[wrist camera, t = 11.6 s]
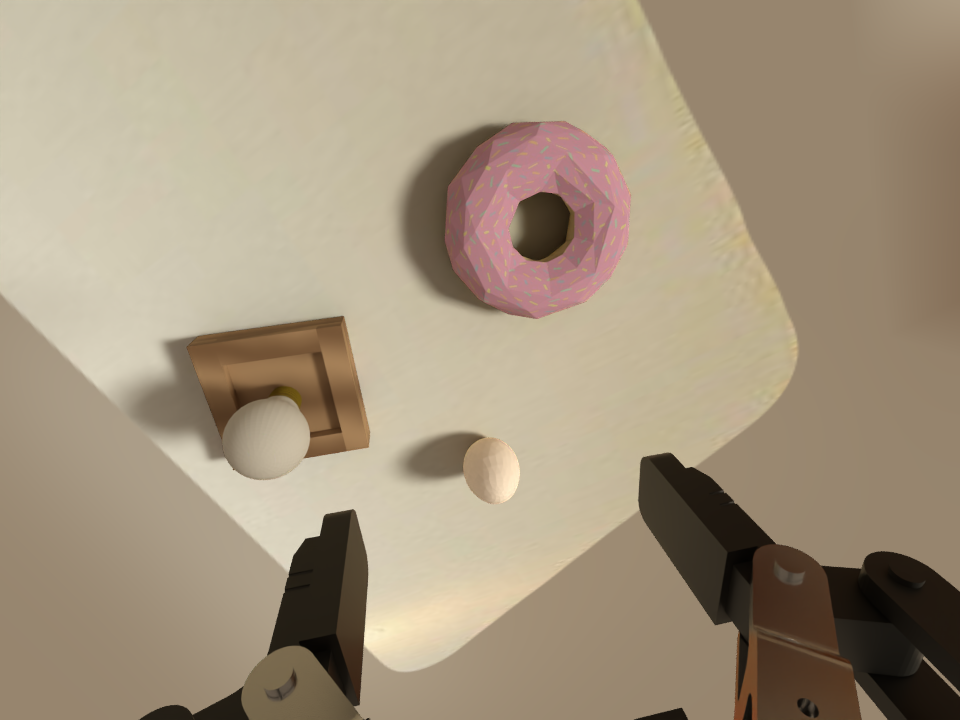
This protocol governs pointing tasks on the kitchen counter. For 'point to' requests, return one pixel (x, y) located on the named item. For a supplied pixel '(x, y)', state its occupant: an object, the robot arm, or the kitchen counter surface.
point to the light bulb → (267, 436)
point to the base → (287, 377)
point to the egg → (491, 470)
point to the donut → (516, 176)
